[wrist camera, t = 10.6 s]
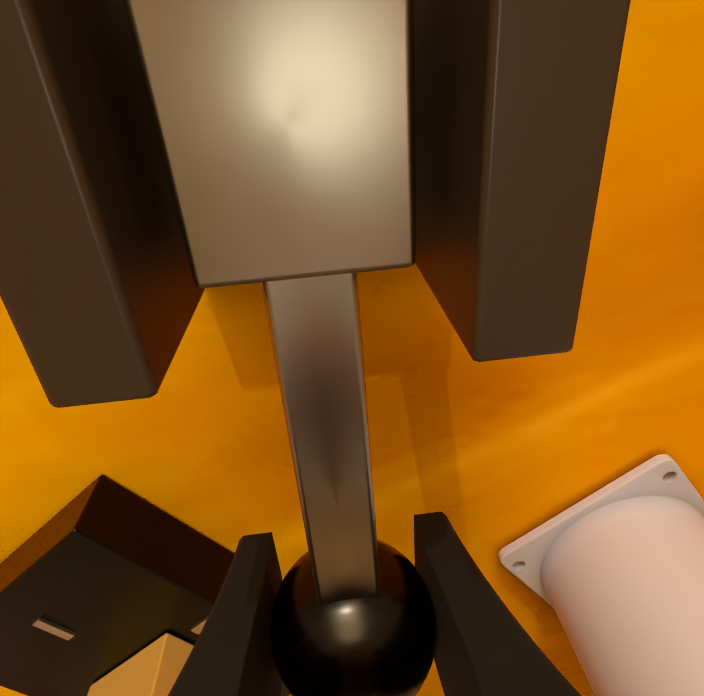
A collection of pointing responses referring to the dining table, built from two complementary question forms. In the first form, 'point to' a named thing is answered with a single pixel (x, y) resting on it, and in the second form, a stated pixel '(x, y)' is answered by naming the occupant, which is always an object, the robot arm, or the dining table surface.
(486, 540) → the dining table surface
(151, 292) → the lever bracket
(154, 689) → the tan block red patch
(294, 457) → the door lever
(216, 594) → the plate
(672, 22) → the dining table surface
